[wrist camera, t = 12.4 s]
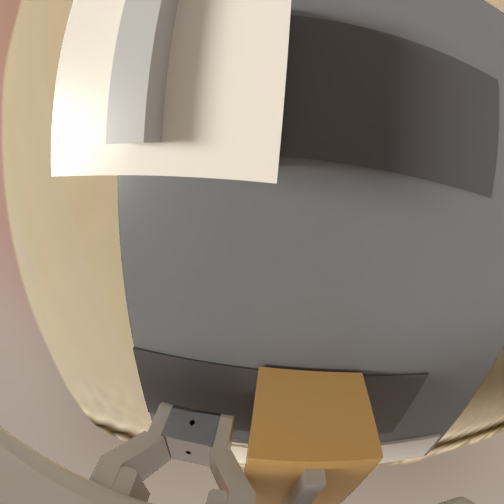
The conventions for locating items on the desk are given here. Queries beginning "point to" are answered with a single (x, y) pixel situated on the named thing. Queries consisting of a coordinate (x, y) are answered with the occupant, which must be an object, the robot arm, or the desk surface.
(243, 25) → the ivory slider
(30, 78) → the desk surface
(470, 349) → the switch unit
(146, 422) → the desk surface
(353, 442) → the amber slider
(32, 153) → the desk surface
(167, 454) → the robot arm
